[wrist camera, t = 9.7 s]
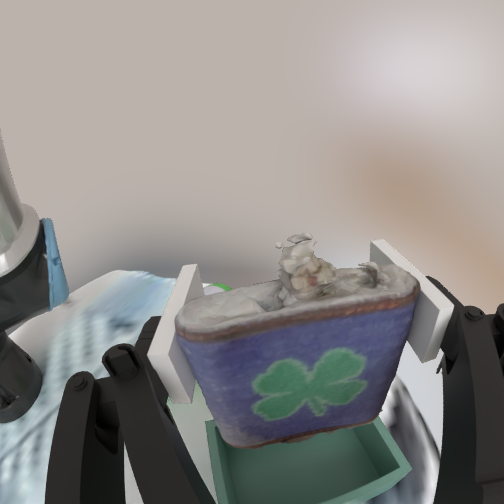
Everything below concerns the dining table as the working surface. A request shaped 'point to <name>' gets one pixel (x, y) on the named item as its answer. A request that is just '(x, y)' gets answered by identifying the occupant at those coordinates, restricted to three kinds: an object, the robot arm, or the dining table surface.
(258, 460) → the open box
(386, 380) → the flask
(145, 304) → the dining table surface
